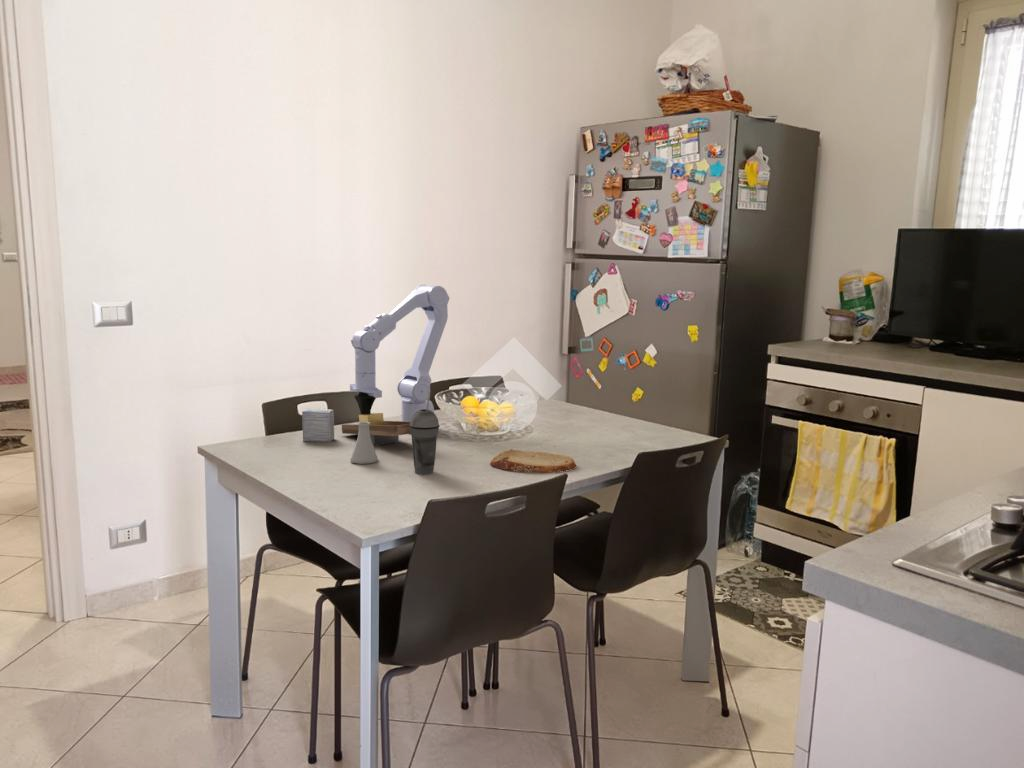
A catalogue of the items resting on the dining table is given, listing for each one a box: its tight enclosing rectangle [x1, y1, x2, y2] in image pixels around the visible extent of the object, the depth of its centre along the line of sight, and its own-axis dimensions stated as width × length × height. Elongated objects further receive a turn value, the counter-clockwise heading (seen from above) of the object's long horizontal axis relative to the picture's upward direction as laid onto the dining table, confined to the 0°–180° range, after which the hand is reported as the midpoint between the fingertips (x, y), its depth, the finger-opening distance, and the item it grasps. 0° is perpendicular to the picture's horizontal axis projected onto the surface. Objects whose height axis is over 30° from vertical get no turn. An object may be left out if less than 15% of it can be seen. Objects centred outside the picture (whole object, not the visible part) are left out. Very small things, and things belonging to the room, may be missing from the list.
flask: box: [350, 422, 379, 465], centre depth 205 cm, size 7×7×10 cm
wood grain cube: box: [358, 412, 385, 425], centre depth 230 cm, size 5×5×4 cm
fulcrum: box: [370, 435, 400, 446], centre depth 225 cm, size 8×2×3 cm, turn 131°
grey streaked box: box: [301, 408, 335, 443], centre depth 227 cm, size 8×4×9 cm, turn 84°
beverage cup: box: [409, 391, 440, 475], centre depth 195 cm, size 7×7×20 cm
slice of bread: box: [489, 448, 577, 474], centre depth 204 cm, size 18×18×4 cm
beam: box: [341, 420, 411, 436], centre depth 226 cm, size 10×28×3 cm, turn 41°
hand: (365, 418), depth 232 cm, fingers closed, pressing on wood grain cube
